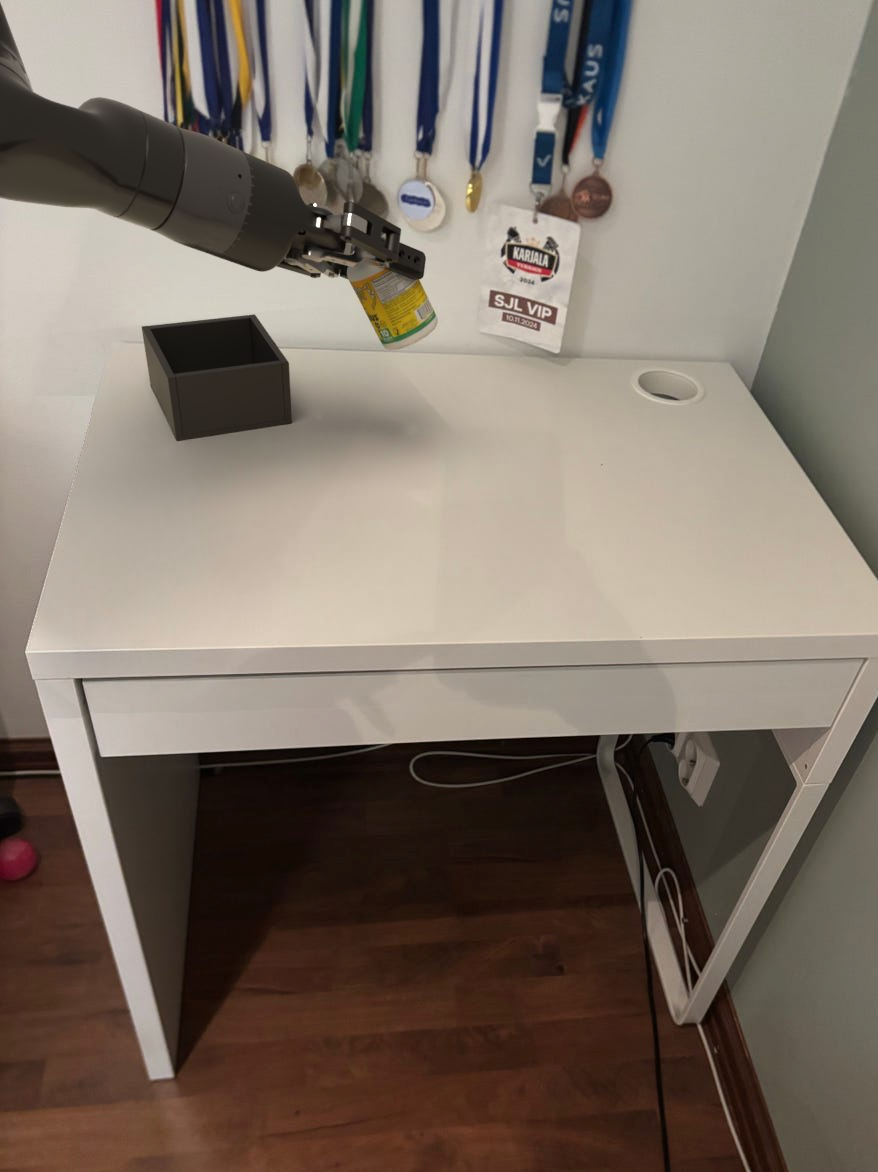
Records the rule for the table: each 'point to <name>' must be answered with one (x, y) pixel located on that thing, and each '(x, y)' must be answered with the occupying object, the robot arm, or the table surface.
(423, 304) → the supplement bottle
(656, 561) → the table surface
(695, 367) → the table surface
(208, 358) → the basket
